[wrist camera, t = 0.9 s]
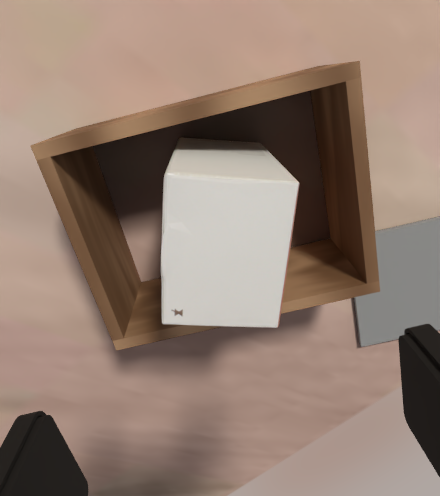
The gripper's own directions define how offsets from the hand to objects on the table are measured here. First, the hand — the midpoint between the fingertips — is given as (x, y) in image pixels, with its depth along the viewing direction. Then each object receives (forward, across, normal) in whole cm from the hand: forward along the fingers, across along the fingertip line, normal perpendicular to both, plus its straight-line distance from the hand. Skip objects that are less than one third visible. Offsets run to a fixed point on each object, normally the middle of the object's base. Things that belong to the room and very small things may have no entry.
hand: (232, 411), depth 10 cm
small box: (+23, -1, 0) cm, 23 cm away
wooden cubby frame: (+22, -1, 0) cm, 22 cm away
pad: (+22, -15, +12) cm, 29 cm away
